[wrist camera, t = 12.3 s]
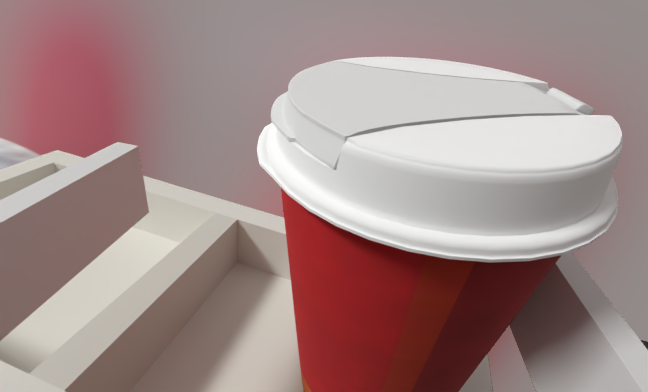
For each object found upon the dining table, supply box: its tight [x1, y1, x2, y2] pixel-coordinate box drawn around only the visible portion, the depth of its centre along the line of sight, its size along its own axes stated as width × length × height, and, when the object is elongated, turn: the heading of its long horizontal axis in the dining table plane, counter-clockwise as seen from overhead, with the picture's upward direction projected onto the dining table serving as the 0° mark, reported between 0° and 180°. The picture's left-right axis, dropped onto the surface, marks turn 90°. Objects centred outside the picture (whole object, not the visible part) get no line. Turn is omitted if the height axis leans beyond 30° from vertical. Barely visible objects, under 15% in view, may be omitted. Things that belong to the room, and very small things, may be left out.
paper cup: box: [257, 57, 623, 392], centre depth 11 cm, size 8×8×14 cm
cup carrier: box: [0, 150, 493, 392], centre depth 17 cm, size 30×14×4 cm, turn 73°
